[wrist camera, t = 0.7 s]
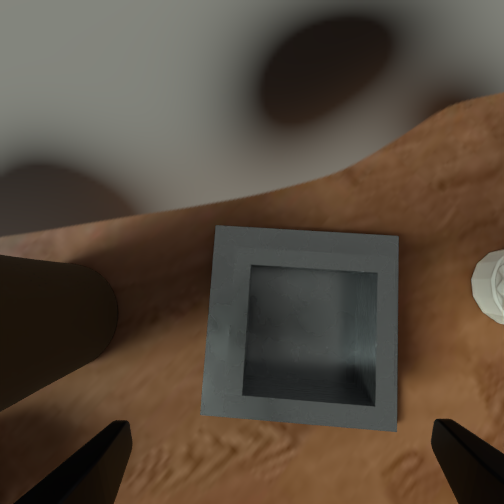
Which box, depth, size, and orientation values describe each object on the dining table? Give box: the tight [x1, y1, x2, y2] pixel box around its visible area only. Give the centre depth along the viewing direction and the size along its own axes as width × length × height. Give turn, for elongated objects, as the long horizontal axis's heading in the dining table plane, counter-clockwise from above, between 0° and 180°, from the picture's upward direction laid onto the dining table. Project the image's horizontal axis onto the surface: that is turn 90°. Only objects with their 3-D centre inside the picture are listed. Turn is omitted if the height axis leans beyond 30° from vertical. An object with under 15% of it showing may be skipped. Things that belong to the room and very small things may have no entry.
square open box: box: [200, 225, 399, 432], centre depth 21 cm, size 16×16×5 cm
